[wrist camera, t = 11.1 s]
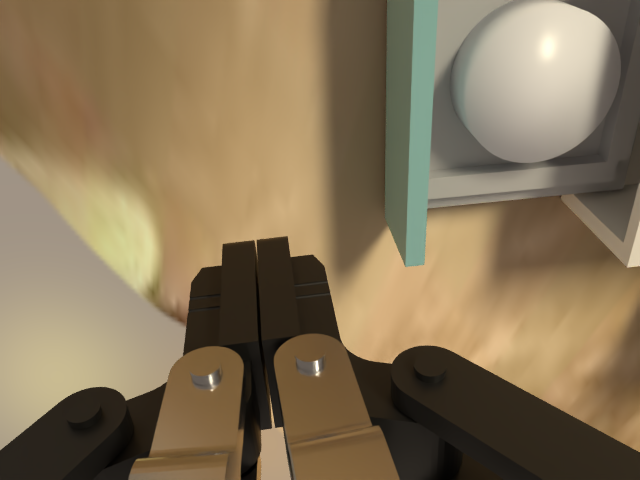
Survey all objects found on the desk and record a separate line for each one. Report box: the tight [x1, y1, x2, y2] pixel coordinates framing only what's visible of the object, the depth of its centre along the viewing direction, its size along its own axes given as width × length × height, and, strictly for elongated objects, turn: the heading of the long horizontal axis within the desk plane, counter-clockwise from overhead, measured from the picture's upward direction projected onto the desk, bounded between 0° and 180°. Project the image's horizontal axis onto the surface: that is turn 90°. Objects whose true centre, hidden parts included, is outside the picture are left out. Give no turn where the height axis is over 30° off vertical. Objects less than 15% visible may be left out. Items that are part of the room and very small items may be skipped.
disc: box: [450, 0, 621, 163], centre depth 24 cm, size 6×6×2 cm
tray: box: [385, 0, 640, 267], centre depth 23 cm, size 14×11×4 cm
